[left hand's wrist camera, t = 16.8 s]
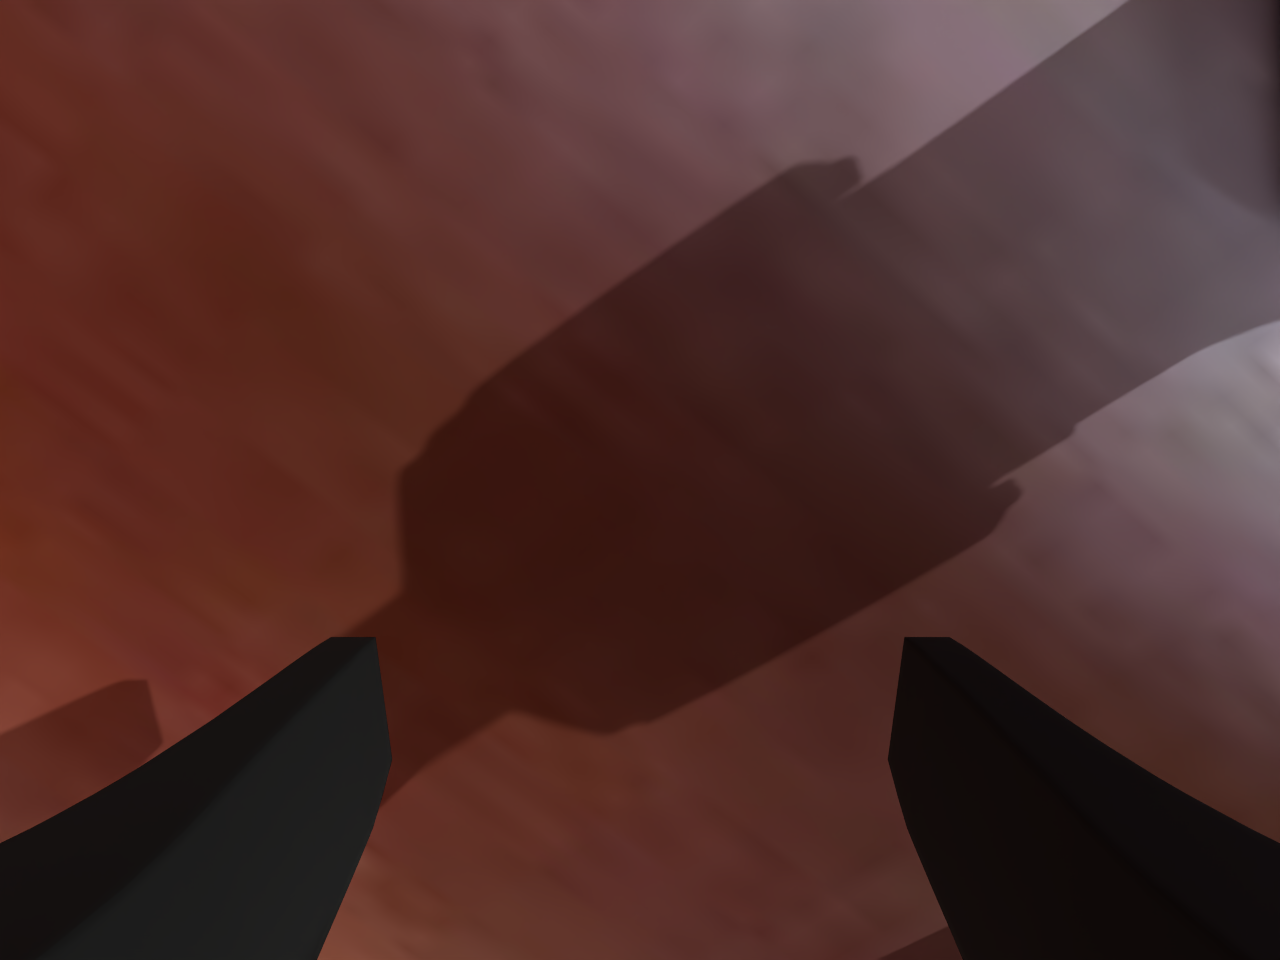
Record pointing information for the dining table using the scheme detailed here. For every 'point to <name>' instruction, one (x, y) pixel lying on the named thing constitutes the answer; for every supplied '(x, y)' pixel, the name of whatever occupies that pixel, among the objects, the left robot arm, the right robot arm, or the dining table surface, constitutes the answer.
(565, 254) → the dining table surface
